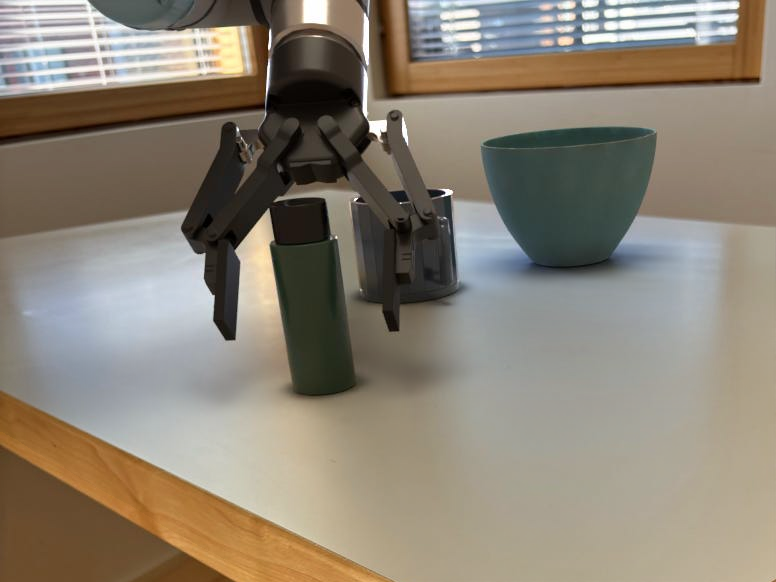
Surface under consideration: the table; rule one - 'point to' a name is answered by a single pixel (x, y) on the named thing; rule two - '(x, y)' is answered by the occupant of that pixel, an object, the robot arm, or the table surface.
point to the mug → (431, 256)
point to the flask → (311, 296)
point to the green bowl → (569, 189)
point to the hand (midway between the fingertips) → (307, 326)
